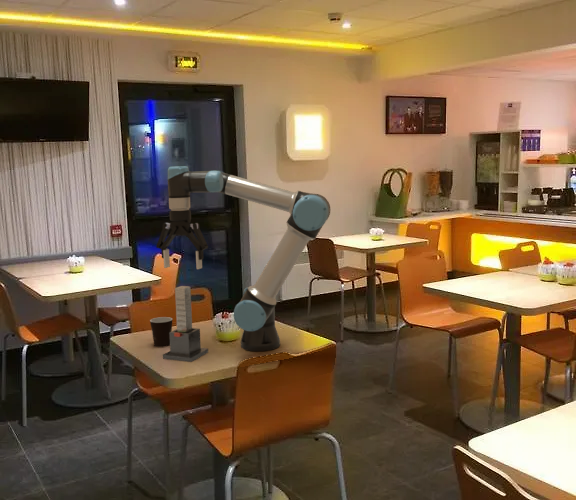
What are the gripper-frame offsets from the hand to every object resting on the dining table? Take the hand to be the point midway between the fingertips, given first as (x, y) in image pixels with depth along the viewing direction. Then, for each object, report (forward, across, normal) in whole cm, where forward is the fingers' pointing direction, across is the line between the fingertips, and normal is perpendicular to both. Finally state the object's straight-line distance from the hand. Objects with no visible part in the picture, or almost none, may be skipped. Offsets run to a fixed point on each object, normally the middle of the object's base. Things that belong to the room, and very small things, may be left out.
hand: (183, 268), depth 225 cm
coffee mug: (+33, +17, -11) cm, 38 cm away
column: (+25, 0, +1) cm, 25 cm away
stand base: (+33, 0, +1) cm, 33 cm away
